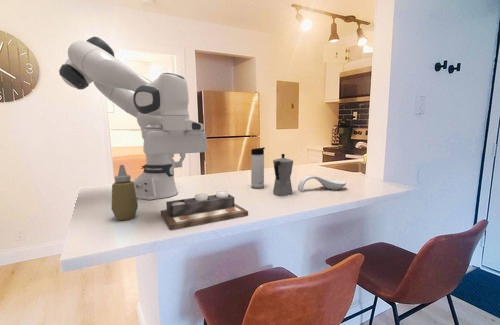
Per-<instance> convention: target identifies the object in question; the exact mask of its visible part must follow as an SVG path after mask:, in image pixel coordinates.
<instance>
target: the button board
mask: <svg viewBox="0 0 500 325" xmlns="http://www.w3.org/2000/svg"><path fill="white" fill-rule="evenodd" d="M207 196H208V201H201V202H196V201H195V197H190V198H184V199H176V200H169V201H168V200H167V201H166V202H165V203H166V205H165V206H166V209H163V210H161V209H160V216H161V217H162V219H163V221H164V222H165V223H166V225H167V227H168V228H169V229H170V231H173V230H174V231H175V230H179V229H184V228H185V229H186V228H190V227H195V226H199V225H206V224H210V223H211V224H212V223H216V222H220V221H221V222H222V221H226V220H232V219H238V218H241V217H242V218H243V217H248V216H249V211H248V210H246V209H245V208H243V207H242V206H240V205H238V204H236V203H235V196H233V195H231V194H230V193H228V198H221V199H218V198H216V194H211V195H207ZM175 202H184V203H185V204H180V205H174V206H172V203H175Z"/></svg>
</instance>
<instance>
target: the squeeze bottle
mask: <svg viewBox="0 0 500 325" xmlns="http://www.w3.org/2000/svg"><path fill="white" fill-rule="evenodd" d="M138 208H139V205H138V198H136V192H135V187H134V183H133V181H132V180H131V175H130V174H127V171H126V168H125V165H124V164H120V165H119V168H118V174H117V175H115V176H114V183H112V186H111V211H112V214H113V215H114V218H115V219H116V220H117V221H126V220H131V219H133V218H135V217H136V213H137V212H138V211H137V210H138Z"/></svg>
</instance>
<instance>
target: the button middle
mask: <svg viewBox="0 0 500 325" xmlns="http://www.w3.org/2000/svg"><path fill="white" fill-rule="evenodd" d="M208 196H209V195H208V194H207V193H197V194H195V195H194V198H195V201H196V202H201V201H208Z"/></svg>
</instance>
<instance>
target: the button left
mask: <svg viewBox="0 0 500 325" xmlns="http://www.w3.org/2000/svg"><path fill="white" fill-rule="evenodd" d="M180 204H185V203H184V202H175V203H172V206H174V205H180Z"/></svg>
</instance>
